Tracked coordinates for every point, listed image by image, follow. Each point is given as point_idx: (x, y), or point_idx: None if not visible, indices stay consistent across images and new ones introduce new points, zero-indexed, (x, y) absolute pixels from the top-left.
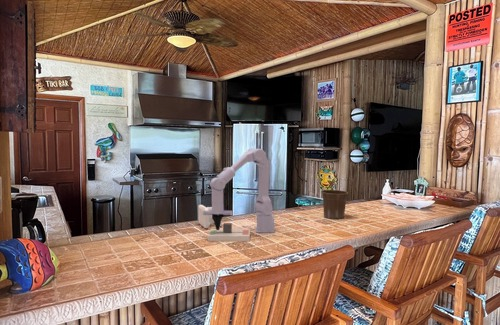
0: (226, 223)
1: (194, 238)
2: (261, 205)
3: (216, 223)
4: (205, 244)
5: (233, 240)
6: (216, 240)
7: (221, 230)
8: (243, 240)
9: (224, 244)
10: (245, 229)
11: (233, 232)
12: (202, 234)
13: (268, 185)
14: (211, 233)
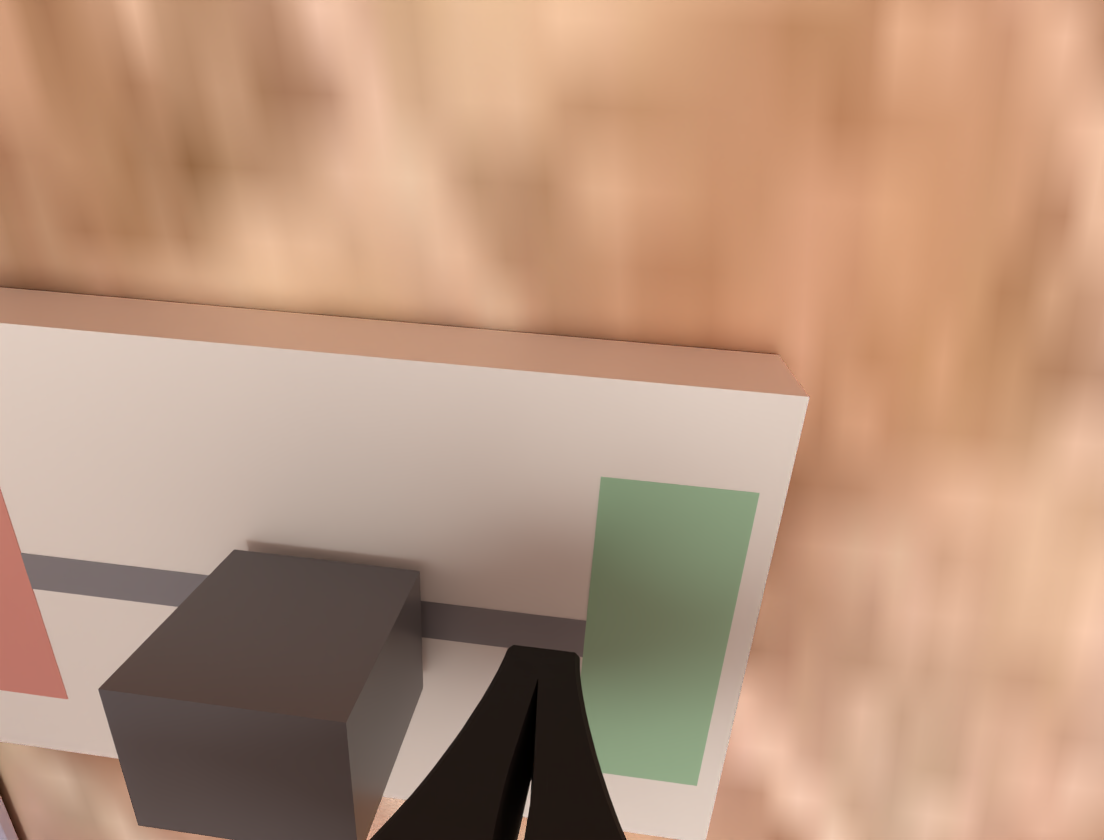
0: (276, 826)
1: (1057, 555)
2: None
3: (553, 793)
4: (843, 97)
5: (211, 307)
6: (577, 339)
7: None
8: (10, 290)
9: (374, 75)
10: (38, 730)
11: None
12: (860, 750)
13: None
14: (700, 576)
